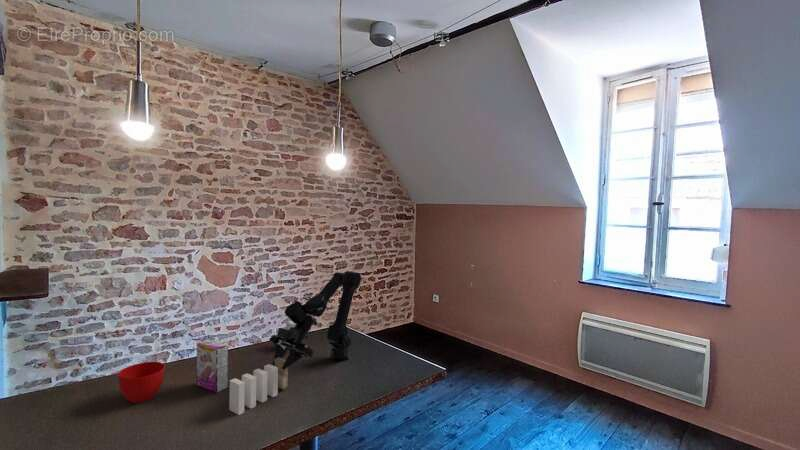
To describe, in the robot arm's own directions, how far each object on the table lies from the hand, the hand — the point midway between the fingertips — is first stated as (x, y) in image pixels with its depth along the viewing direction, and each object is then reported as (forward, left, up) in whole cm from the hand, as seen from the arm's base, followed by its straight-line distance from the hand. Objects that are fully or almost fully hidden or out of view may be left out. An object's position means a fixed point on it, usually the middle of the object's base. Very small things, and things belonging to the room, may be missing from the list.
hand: (278, 367), depth 134 cm
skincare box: (-20, -36, -9) cm, 42 cm away
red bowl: (+40, -23, -9) cm, 47 cm away
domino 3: (+7, +3, -9) cm, 12 cm away
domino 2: (+11, +4, -9) cm, 15 cm away
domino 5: (-1, 0, -8) cm, 8 cm away
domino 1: (+16, +6, -9) cm, 19 cm away
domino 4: (+3, +1, -9) cm, 9 cm away
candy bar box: (+19, -16, -9) cm, 26 cm away
